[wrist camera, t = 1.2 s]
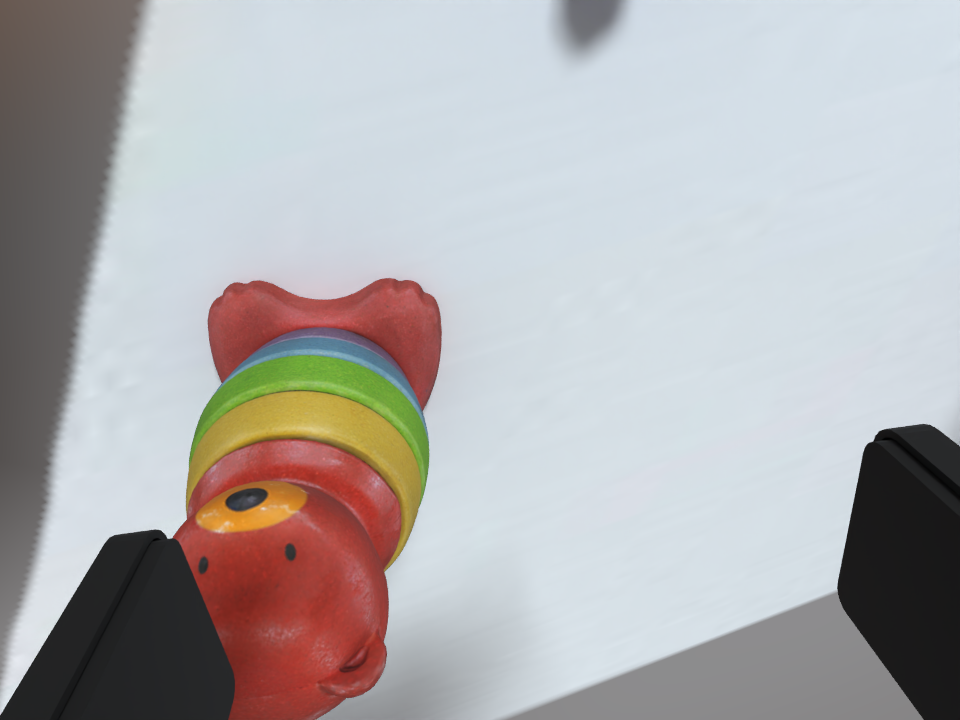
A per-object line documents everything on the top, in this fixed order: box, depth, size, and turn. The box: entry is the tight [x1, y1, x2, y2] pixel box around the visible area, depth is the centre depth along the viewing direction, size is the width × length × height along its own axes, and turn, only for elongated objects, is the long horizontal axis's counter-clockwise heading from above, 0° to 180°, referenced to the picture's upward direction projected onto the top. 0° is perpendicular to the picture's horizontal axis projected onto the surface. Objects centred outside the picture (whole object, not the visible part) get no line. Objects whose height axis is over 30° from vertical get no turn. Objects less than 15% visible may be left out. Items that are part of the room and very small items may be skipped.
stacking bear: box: [172, 278, 442, 720], centre depth 25 cm, size 11×10×18 cm
